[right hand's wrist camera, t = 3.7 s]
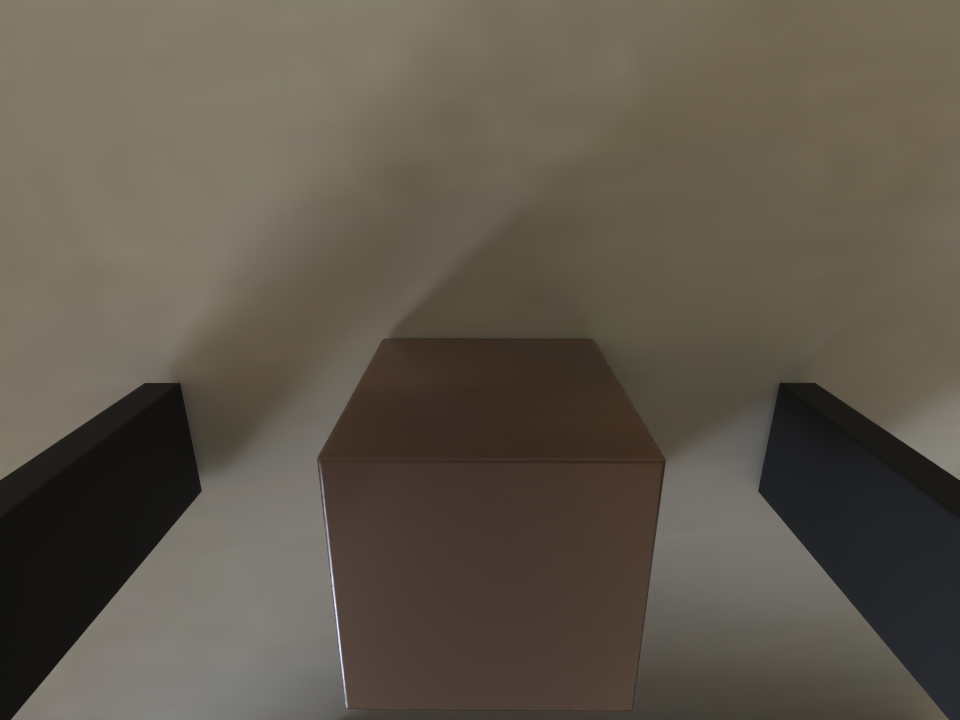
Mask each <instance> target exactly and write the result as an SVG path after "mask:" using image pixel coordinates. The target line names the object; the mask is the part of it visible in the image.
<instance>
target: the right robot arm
mask: <svg viewBox="0 0 960 720" xmlns="http://www.w3.org/2000/svg"><path fill="white" fill-rule="evenodd" d="M758 491H759V493H760V494H761V495H762V496H763V497H764V499H765V500H766V501H767V502H768V503H769V505H770V506H771V507H772V508H773V509H774V510H775V512H776V513H777V514H778V515H779V516H780V518H781V519H782V520H783V521H784V522H785V524H786V525H787V526H788V527H789V528H790V530H791V531H792V532H793V533H794V534H795V536H796V537H797V538H798V539H799V540H800V542H801V543H802V544H803V545H804V546H805V548H806V549H807V550H808V551H809V552H810V554H811V555H812V556H813V557H814V558H815V560H816V561H817V562H818V563H819V564H820V566H821V567H822V568H823V569H824V570H825V572H826V573H827V574H828V575H829V576H830V578H831V579H832V580H833V581H834V582H835V584H836V585H837V586H838V587H839V588H840V590H841V591H842V592H843V593H844V594H845V595H846V597H847V598H848V599H849V600H850V601H851V603H852V604H853V605H854V606H855V607H856V609H857V610H858V611H859V612H860V613H861V615H862V616H863V617H864V618H865V619H866V621H867V622H868V623H869V624H870V625H871V627H872V628H873V629H874V630H875V631H876V633H877V634H878V635H879V636H880V637H881V639H882V640H883V641H884V642H885V643H886V645H887V646H888V647H889V648H890V649H891V651H892V652H893V653H894V654H895V655H896V657H897V658H898V659H899V660H900V661H901V663H902V664H903V665H904V666H905V667H906V669H907V670H908V671H909V672H910V673H911V674H912V676H913V677H914V678H915V679H916V680H917V682H918V683H919V684H920V685H921V686H922V688H923V689H924V690H925V691H926V692H927V694H928V695H929V696H930V697H931V698H932V700H933V701H934V702H935V703H936V704H937V706H938V707H939V708H940V709H941V710H942V712H943V713H944V714H945V715H946V716H947V718H948V719H949V720H960V480H958V479H957V478H955V477H954V476H952V475H951V474H949V473H948V472H946V471H945V470H943V469H942V468H940V467H939V466H938V465H936V464H935V463H933V462H932V461H930V460H929V459H927V458H926V457H924V456H923V455H921V454H920V453H918V452H917V451H915V450H914V449H912V448H911V447H909V446H908V445H906V444H905V443H903V442H902V441H900V440H899V439H897V438H896V437H894V436H893V435H891V434H890V433H888V432H887V431H885V430H884V429H882V428H881V427H880V426H878V425H877V424H875V423H874V422H872V421H871V420H869V419H868V418H866V417H865V416H863V415H862V414H860V413H859V412H857V411H856V410H854V409H853V408H851V407H850V406H848V405H847V404H845V403H844V402H842V401H841V400H839V399H838V398H836V397H835V396H833V395H832V394H830V393H829V392H827V391H826V390H824V389H823V388H822V387H820V386H819V385H817V384H816V383H780V386H779V391H778V396H777V401H776V406H775V411H774V416H773V421H772V426H771V431H770V436H769V441H768V446H767V451H766V455H765V460H764V465H763V470H762V475H761V480H760V485H759V490H758ZM200 492H201V486H200V481H199V476H198V471H197V466H196V461H195V456H194V451H193V446H192V441H191V436H190V431H189V426H188V421H187V416H186V411H185V406H184V401H183V396H182V391H181V386H180V383H144V384H143V385H141V386H140V387H138V388H137V389H135V390H134V391H132V392H131V393H130V394H128V395H127V396H125V397H124V398H122V399H121V400H119V401H118V402H116V403H115V404H113V405H112V406H110V407H109V408H107V409H106V410H104V411H103V412H101V413H100V414H98V415H97V416H95V417H94V418H92V419H91V420H89V421H88V422H86V423H85V424H83V425H82V426H80V427H79V428H77V429H76V430H74V431H73V432H72V433H70V434H69V435H67V436H66V437H64V438H63V439H61V440H60V441H58V442H57V443H55V444H54V445H52V446H51V447H49V448H48V449H46V450H45V451H43V452H42V453H40V454H39V455H37V456H36V457H34V458H33V459H31V460H30V461H28V462H27V463H25V464H24V465H22V466H21V467H19V468H18V469H16V470H15V471H14V472H12V473H11V474H9V475H8V476H6V477H5V478H3V479H2V480H0V720H11V719H12V718H13V716H14V715H15V714H16V713H17V712H18V710H19V709H20V708H21V707H22V706H23V704H24V703H25V702H26V701H27V700H28V698H29V697H30V696H31V695H32V694H33V692H34V691H35V690H36V689H37V688H38V686H39V685H40V684H41V683H42V682H43V680H44V679H45V678H46V677H47V676H48V674H49V673H50V672H51V671H52V670H53V668H54V667H55V666H56V665H57V664H58V662H59V661H60V660H61V659H62V658H63V656H64V655H65V654H66V653H67V652H68V651H69V649H70V648H71V647H72V646H73V645H74V643H75V642H76V641H77V640H78V639H79V637H80V636H81V635H82V634H83V633H84V631H85V630H86V629H87V628H88V627H89V625H90V624H91V623H92V622H93V621H94V619H95V618H96V617H97V616H98V615H99V613H100V612H101V611H102V610H103V609H104V607H105V606H106V605H107V604H108V603H109V601H110V600H111V599H112V598H113V597H114V595H115V594H116V593H117V592H118V591H119V589H120V588H121V587H122V586H123V585H124V583H125V582H126V581H127V580H128V579H129V577H130V576H131V575H132V574H133V573H134V571H135V570H136V569H137V568H138V567H139V566H140V564H141V563H142V562H143V561H144V560H145V558H146V557H147V556H148V555H149V554H150V552H151V551H152V550H153V549H154V548H155V546H156V545H157V544H158V543H159V542H160V540H161V539H162V538H163V537H164V536H165V534H166V533H167V532H168V531H169V530H170V528H171V527H172V526H173V525H174V524H175V522H176V521H177V520H178V519H179V518H180V516H181V515H182V514H183V513H184V512H185V510H186V509H187V508H188V507H189V506H190V504H191V503H192V502H193V501H194V500H195V498H196V497H197V496H198V495H199V494H200Z"/></svg>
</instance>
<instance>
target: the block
mask: <svg viewBox="0 0 960 720" xmlns="http://www.w3.org/2000/svg"><path fill="white" fill-rule="evenodd" d="M317 462H318V471H319V480H320V488H321V497H322V506H323V515H324V523H325V532H326V541H327V549H328V558H329V567H330V576H331V584H332V593H333V602H334V611H335V619H336V628H337V637H338V645H339V654H340V663H341V672H342V680H343V689H344V698H345V705H346V708H348V709H407V710H576V711H630V710H632V709H633V703H634V695H635V688H636V680H637V673H638V665H639V658H640V650H641V642H642V635H643V627H644V620H645V612H646V605H647V597H648V590H649V582H650V575H651V567H652V559H653V552H654V544H655V537H656V529H657V522H658V514H659V507H660V499H661V491H662V484H663V476H664V469H665V458H664V456H663V454H662V453H661V451H660V449H659V448H658V446H657V444H656V443H655V441H654V439H653V438H652V436H651V434H650V433H649V431H648V429H647V428H646V426H645V424H644V423H643V421H642V419H641V418H640V416H639V414H638V413H637V411H636V410H635V408H634V406H633V405H632V403H631V401H630V400H629V398H628V396H627V395H626V393H625V391H624V390H623V388H622V386H621V385H620V383H619V381H618V380H617V378H616V376H615V375H614V373H613V371H612V370H611V368H610V366H609V365H608V363H607V361H606V360H605V358H604V356H603V355H602V353H601V351H600V350H599V348H598V346H597V345H596V343H595V341H594V340H592V339H383V340H382V342H381V344H380V345H379V347H378V349H377V351H376V353H375V355H374V356H373V358H372V360H371V362H370V364H369V365H368V367H367V369H366V371H365V373H364V374H363V376H362V378H361V380H360V382H359V384H358V385H357V387H356V389H355V391H354V393H353V394H352V396H351V398H350V400H349V402H348V404H347V405H346V407H345V409H344V411H343V413H342V414H341V416H340V418H339V420H338V422H337V423H336V425H335V427H334V429H333V431H332V433H331V434H330V436H329V438H328V440H327V442H326V443H325V445H324V447H323V449H322V451H321V452H320V454H319V456H318V459H317Z"/></svg>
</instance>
